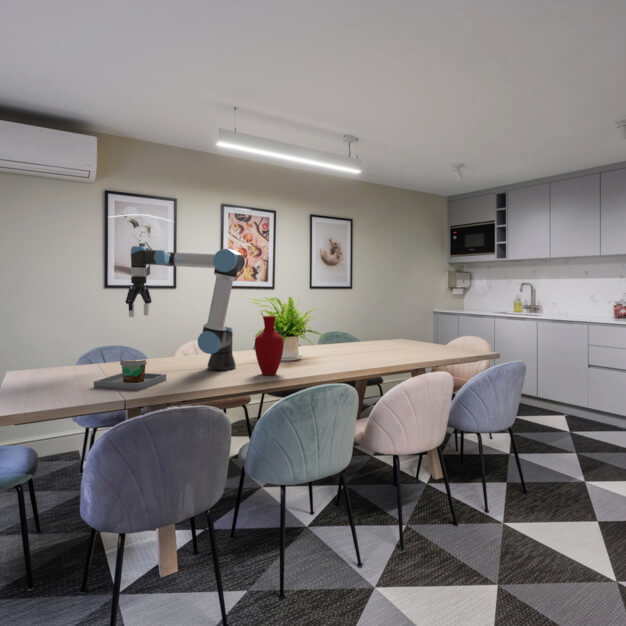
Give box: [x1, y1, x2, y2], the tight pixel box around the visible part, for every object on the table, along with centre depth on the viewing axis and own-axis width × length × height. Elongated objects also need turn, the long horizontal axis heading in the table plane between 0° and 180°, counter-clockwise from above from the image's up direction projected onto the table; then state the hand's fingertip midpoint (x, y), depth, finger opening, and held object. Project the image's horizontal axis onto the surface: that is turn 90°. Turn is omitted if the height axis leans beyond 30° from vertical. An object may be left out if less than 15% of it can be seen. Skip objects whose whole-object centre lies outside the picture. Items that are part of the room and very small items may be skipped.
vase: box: [254, 315, 285, 376], centre depth 227 cm, size 15×15×30 cm
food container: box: [119, 358, 148, 383], centre depth 201 cm, size 12×6×10 cm, turn 81°
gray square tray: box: [93, 372, 167, 391], centre depth 201 cm, size 22×22×3 cm
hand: (139, 316), depth 234 cm, fingers open, 13 cm apart
